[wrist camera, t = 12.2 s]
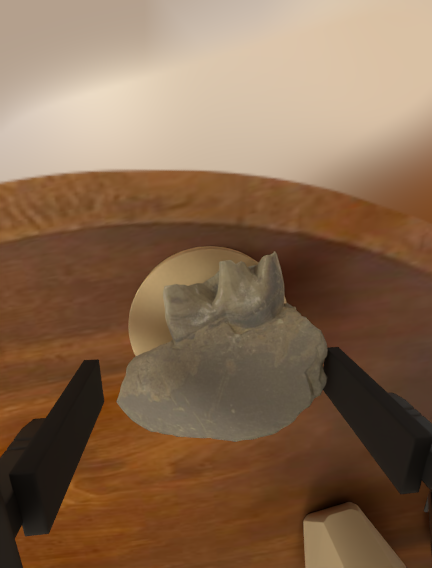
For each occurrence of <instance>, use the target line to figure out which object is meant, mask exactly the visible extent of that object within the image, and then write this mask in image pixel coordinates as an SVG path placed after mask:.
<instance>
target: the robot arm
mask: <svg viewBox="0 0 432 568" xmlns="http://www.w3.org/2000/svg"><path fill="white" fill-rule="evenodd" d="M327 349H328V351H327V356H326V358H325V360H324V368H323V369H324V372H325V374H326V375H327V381H326V385H325V387H324V388H323V390H324V392H325V393H326V394H327V396H328V397H329V399H330V400H331V401H332V403H333V404H334V405H335V407H336V408H337V409H338V411H339V412H340V413H341V415H342V416H343V417H344V419H345V420H346V421H347V423H348V424H349V425H350V427H351V428H352V430H353V431H354V432H355V434H356V435H357V436H358V438H359V439H360V440H361V442H362V443H363V444H364V446H365V447H366V448H367V450H368V451H369V452H370V454H371V455H372V456H373V458H374V459H375V460H376V462H377V463H378V465H379V466H380V467H381V469H382V470H383V471H384V473H385V474H386V475H387V477H388V478H389V479H390V481H391V482H392V483H393V485H394V486H395V487H396V489H397V490H398V491H399V493H400V494H408V493H417V492H419V489H420V485H421V481H423V482H424V483H425V484H426V486H427V487H428V488H429V489H430V491H429V494H428V498H427V501H426V505H425V508H424V511H425V512H428V509H429V521H430V537H431V553H432V423H431V422H430V421H428V420H427V419H426V418H425V417H424V416H422V415H421V413H419V412H418V411H417V410H416V409H414V407H413V406H411V405H410V404H409V403H408V402H407V401H406V400H405V399H403V398H401V397H400V396H398V395H396V394H394V393H387V392H386V391H385V390H384V389H383V388H382V387H381V386H379V385H378V384H377V383H376V382H375V381H374V380H373V379H372V378H371V377H370V376H369V375H368V374H367V373H366V372H364V371H363V370H362V369H361V368H360V367H359V366H358V365H357V364H356V363H355V362H354V361H353V360H352V359H350V358H349V357H348V356H347V355H346V354H345V353H344V352H343V351H342V350H341V349H340V348H339V347H330V348H327ZM103 403H104V397H103V389H102V381H101V374H100V366H99V360H84V361H83V363H82V364H81V366H80V367H79V369H78V370H77V372H76V373H75V375H74V376H73V378H72V379H71V381H70V382H69V384H68V385H67V387H66V388H65V390H64V392H63V393H62V395H61V396H60V398H59V399H58V401H57V402H56V404H55V405H54V407H53V408H52V410H51V411H50V413H49V414H48V416H47V417H46V418H41V419H33V420H32V421H31V422H29V423H28V424H27V425H26V426H25V427H23V428H22V429H21V431H20V432H19V433H18V435H17V436H16V437H15V439H14V441H13V442H12V443H11V444H10V445H9V447H8V448H7V451H5V452H4V454H3V455H2V456H1V458H0V568H23V566H22V563H21V559H20V556H19V552H18V549H17V545H16V542H15V537H16V535H17V533H18V531H19V529H20V527H21V525H22V526H23V530H24V534H25V536H32V535H41V534H49V532H50V530H51V527H52V525H53V522H54V520H55V518H56V515H57V513H58V511H59V508H60V506H61V503H62V501H63V499H64V496H65V494H66V492H67V489H68V487H69V484H70V482H71V480H72V477H73V475H74V472H75V470H76V468H77V465H78V463H79V461H80V458H81V456H82V453H83V451H84V449H85V446H86V444H87V441H88V439H89V437H90V434H91V432H92V430H93V427H94V425H95V422H96V420H97V418H98V415H99V413H100V411H101V408H102V406H103Z"/></svg>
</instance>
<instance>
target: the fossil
mask: <svg viewBox="0 0 432 568" xmlns="http://www.w3.org/2000/svg"><path fill="white" fill-rule="evenodd" d="M163 299H164V306H165V319H166V322H167V325H168V328H169V331H170V333H171V336H172V338H173V339H172V340H171V341H170V342H168V343H165V344H162V345H159V346H158V347H156V348H153V349H152V350H150V351H147V352H144V353H142V354H140V355H138V356H136V357H134V358H133V360H132V361H131V362H130V363H129V364H128V367H127V369H126V376H125V378H124V380H123V382H122V385H121V389H120V393H119V396H118V399H117V403H118V404H119V406H120V407H121V408H122V410H123V411H124V412H125V413H126V414H127V415H128V417H129V418H130V419H132V420H133V421H134V422H135V423H137V424H139V425H140V426H142V427H144V428H145V429H147V430H149V431H151V432H159V433H162V434H169V435H174V436H177V437H193V438H213V439H220V440H229V441H234V442H236V441H241V440H252V439H256V438H259V437H263V436H268V435H272V434H274V433H276V432H278V431H279V430H281V429H282V428H284V427H286V426H288V425H289V424H291V423H292V422H293V421H294V420H295V419H296V417H297V416H298V415H299V414H300V413H301V412H302V411H303V410H304V409H306V408H307V407H309V406H310V405H311V403H312V401H313V399H314V398H316V397H317V396H319V395H321V392H322V390H323V388H324V387H325V385H326V381H327V375H326V374H325V372H324V369H323V362H324V359H325V358H326V356H327V351H328V349H327V343H326V341H325V339H324V336H323V334H322V332H321V330H319V329H318V328H316V327H315V326H314V325H313V324H312V323H311V322H310V321H309V320H308V319H307V318H306V317H303V316H301V313H299V312H298V311H296V307H292V306H291V305H290V304H288V303H285V304H284V281H283V276H282V272H281V267H280V264H279V260H278V257H277V254H276V252H273V254H270V255H266V256H263V257H262V259H261V260H260V262H259V263H258V265H254V266H249V267H247V266H246V264H245V263H244V262H242V261H240V262H238V263H236V264H235V263H234V262H233V261H232V260H226V261H220V262H219V271H218V272H217V273H216V275H215V276H213V277H212V278H210V279H208V280H207V281H205V282H203V283H196V284H192V285H189V286H187V285H178V284H174V285H168V286H164V290H163Z"/></svg>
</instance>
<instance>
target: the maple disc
mask: <svg viewBox="0 0 432 568" xmlns="http://www.w3.org/2000/svg"><path fill="white" fill-rule="evenodd" d="M226 260H232V261H233V262H234V263H235V264H236V263H238V262H240V261H242V262H244V263H245V264H246V266H247V267H249V266H254V265H258V262H257V261H255V260H254V259H253V258H251V257H250V256H248V255H246V254H244V253H241V252H239V251H236V250H233V249H230V248H224V247H217V246H204V247H196V248H191V249H187V250H184V251H181V252H178V253H176V254H174V255H172V256H170V257H168V258H167V259H166V260H164V261H163V262H161V263H160V264H159V265H157V266H156V267H155V268H154V269H153V270H152V271H151V272H150V273H149V275H148V276H147V277H146V278H145V280H144V281H143V283H142V284H141V286H140V288H139V289H138V291H137V293H136V295H135V297H134V300H133V302H132V305H131V309H130V314H129V322H128V323H129V337H130V342H131V345H132V348H133V351H134V353H135V355H136V356H138V355H140V354H142V353H144V352H147V351H150V350H152V349H153V348H156V347H158V346H159V345H162V344H165V343H168V342H170V341H171V340H172V339H173V338H172V336H171V333H170V331H169V328H168V325H167V322H166V319H165V306H164V299H163V290H164V286H168V285H174V284H178V285H187V286H189V285H192V284H196V283H203V282H205V281H207V280H208V279H210V278H212V277H213V276H215V275H216V273H217V272H218V271H219V262H220V261H226ZM285 303H287V302H286V299H285V296H284V304H285Z"/></svg>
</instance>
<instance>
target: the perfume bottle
mask: <svg viewBox="0 0 432 568" xmlns="http://www.w3.org/2000/svg"><path fill="white" fill-rule="evenodd" d="M303 525H304V548H305V568H407V567H406V566H405V564H404V563H403V562H402V561H401V559H400V558H399V557H398V556H397V554H396V553H395V552H394V551H393V549H392V548H391V547H390V546H389V544H388V543H387V542H386V541H385V539H384V538H383V537H382V536H381V534H380V533H379V532H378V531H377V529H376V528H375V527H374V526H373V524H372V523H371V522H370V521H369V519H368V518H367V517H366V516H365V514H364V513H363V512H362V511H361V509H360V508H359V507H358V506H357V505H356V504H354V503H352V502H347V503H343V504H340V505H337V506H333V507H330V508H327V509H323V510H320V511H317V512H313V513H310V514H307V515H306V517H305V519H304V521H303Z"/></svg>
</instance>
